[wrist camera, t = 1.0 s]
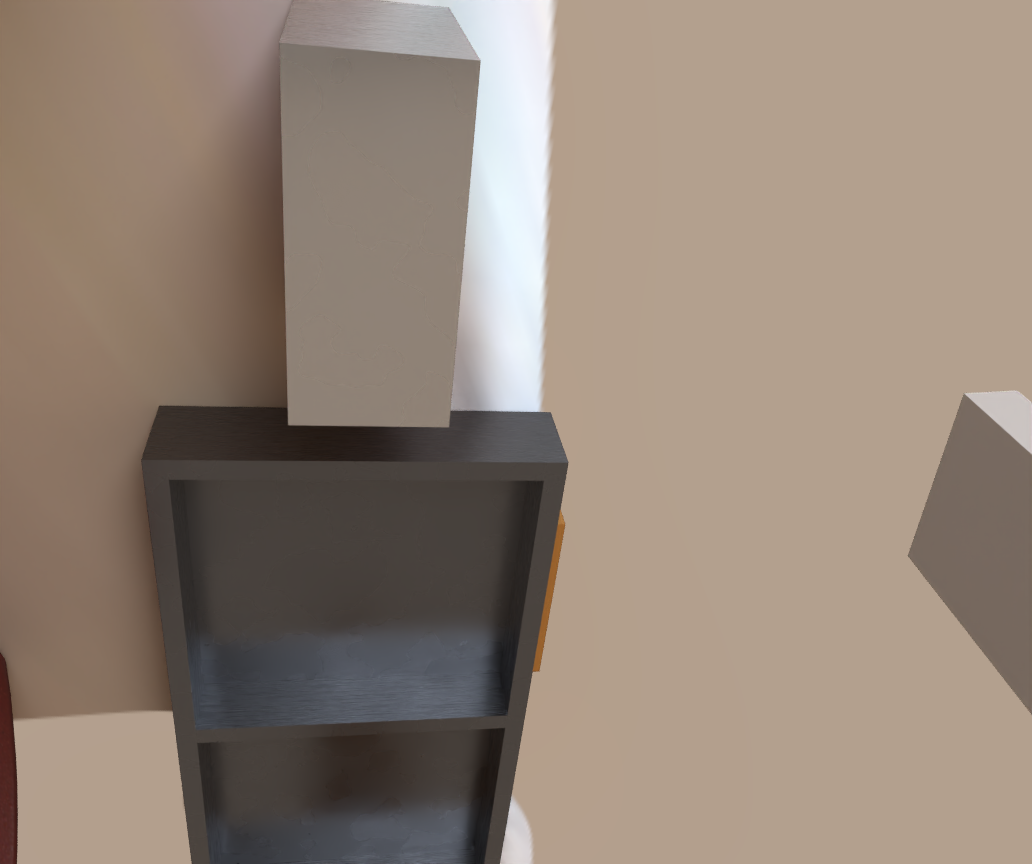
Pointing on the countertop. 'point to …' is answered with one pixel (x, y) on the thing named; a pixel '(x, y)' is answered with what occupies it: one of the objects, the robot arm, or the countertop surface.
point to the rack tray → (351, 627)
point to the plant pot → (7, 773)
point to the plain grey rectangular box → (374, 208)
